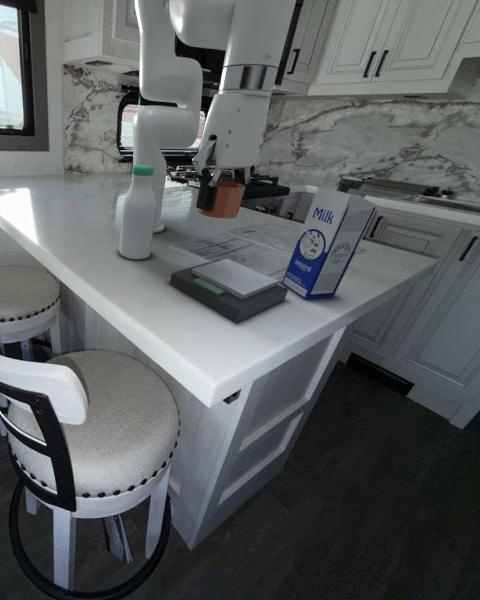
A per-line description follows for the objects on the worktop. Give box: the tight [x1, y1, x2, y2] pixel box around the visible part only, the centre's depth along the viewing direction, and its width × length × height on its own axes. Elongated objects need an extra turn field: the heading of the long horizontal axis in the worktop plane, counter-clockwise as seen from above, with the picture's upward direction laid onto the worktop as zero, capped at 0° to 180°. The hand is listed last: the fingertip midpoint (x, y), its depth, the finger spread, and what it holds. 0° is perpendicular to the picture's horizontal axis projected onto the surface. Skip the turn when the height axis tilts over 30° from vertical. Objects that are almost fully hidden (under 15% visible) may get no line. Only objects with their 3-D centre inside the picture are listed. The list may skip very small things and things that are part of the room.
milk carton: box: [281, 185, 379, 300], centre depth 58 cm, size 7×7×20 cm
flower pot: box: [197, 179, 246, 220], centre depth 53 cm, size 7×7×5 cm
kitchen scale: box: [169, 258, 290, 324], centre depth 59 cm, size 16×15×4 cm
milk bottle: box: [118, 165, 156, 260], centre depth 70 cm, size 8×8×20 cm
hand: (218, 206), depth 54 cm, fingers closed on flower pot, 6 cm apart
